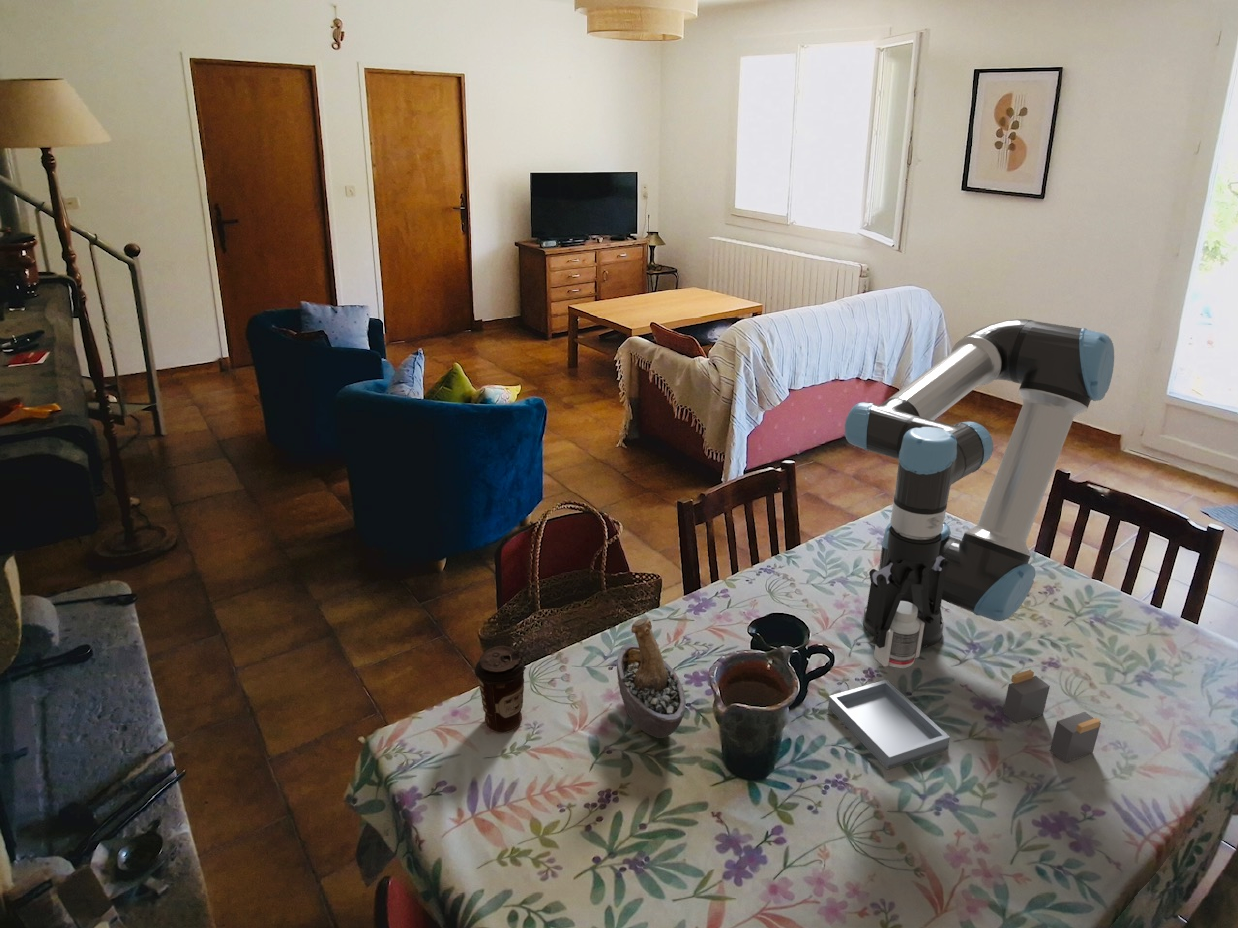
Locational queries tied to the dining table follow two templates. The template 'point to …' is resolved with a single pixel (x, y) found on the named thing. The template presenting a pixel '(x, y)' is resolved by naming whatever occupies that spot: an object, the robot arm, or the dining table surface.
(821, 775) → the dining table surface
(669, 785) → the dining table surface
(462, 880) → the dining table surface
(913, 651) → the pill bottle
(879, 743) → the tray
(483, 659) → the drink can
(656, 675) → the planter
